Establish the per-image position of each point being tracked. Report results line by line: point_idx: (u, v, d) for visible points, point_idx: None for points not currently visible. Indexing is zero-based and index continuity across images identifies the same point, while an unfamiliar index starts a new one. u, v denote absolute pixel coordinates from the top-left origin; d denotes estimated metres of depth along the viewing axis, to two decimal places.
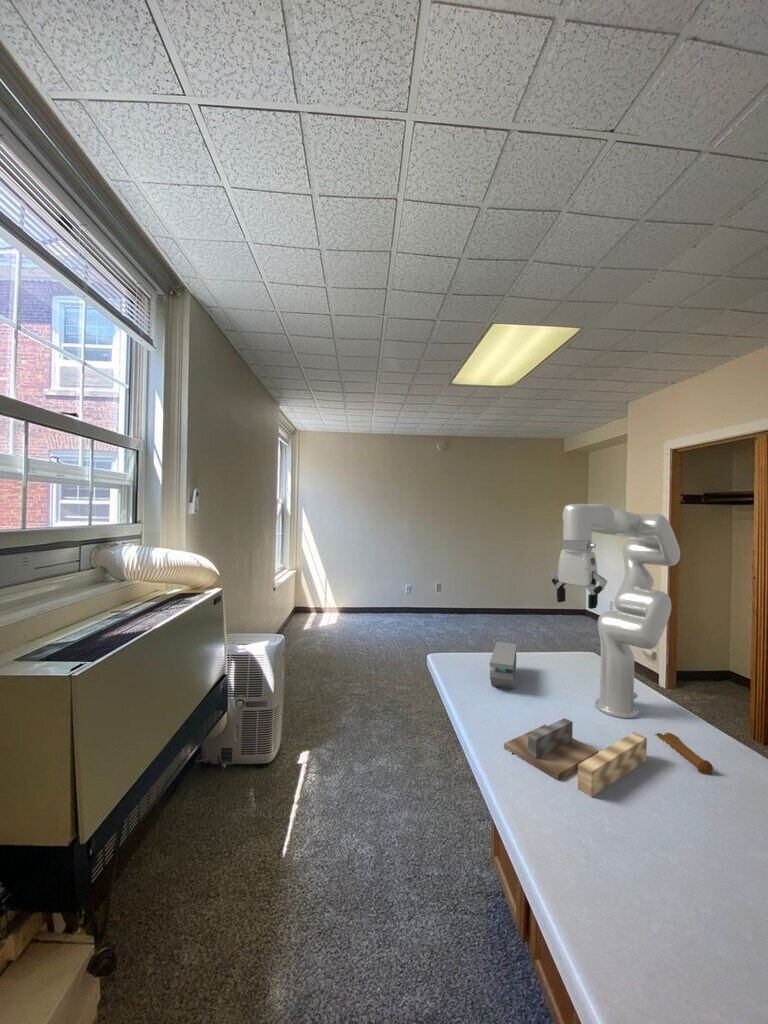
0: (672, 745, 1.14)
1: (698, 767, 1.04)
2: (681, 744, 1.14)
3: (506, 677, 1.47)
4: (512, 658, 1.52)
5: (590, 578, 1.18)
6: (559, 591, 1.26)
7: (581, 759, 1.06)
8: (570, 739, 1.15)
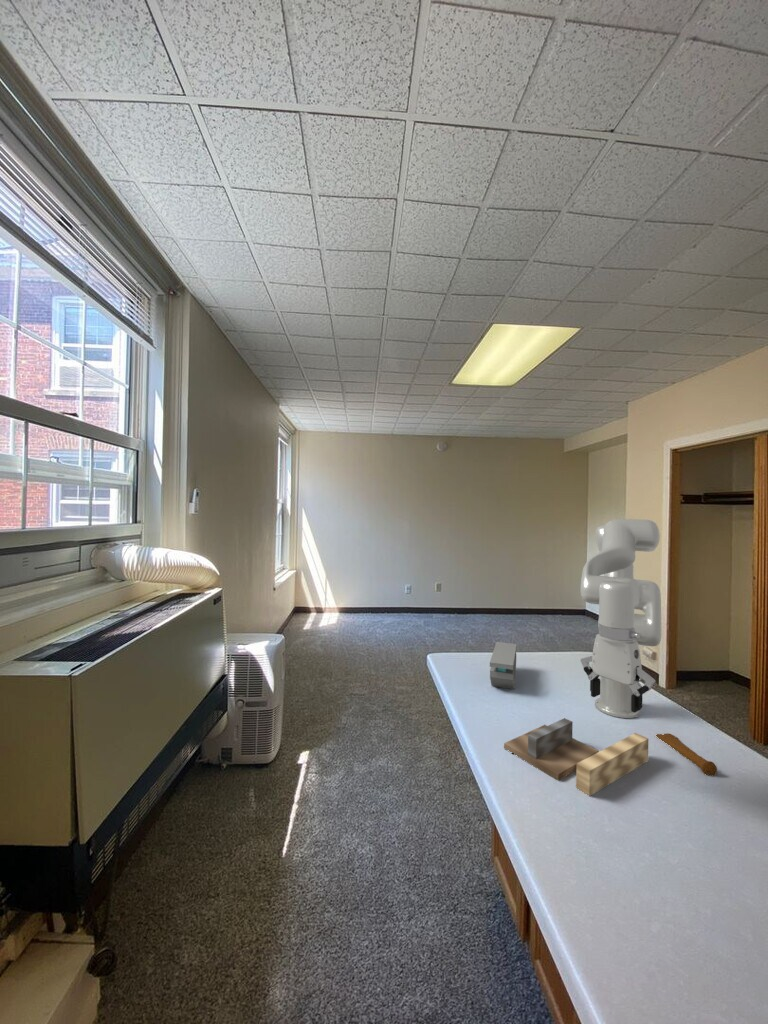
0: (673, 746, 1.14)
1: (703, 768, 1.03)
2: (682, 745, 1.14)
3: (506, 677, 1.47)
4: (512, 658, 1.52)
5: (634, 675, 0.98)
6: (593, 684, 1.06)
7: (581, 759, 1.06)
8: (570, 739, 1.15)
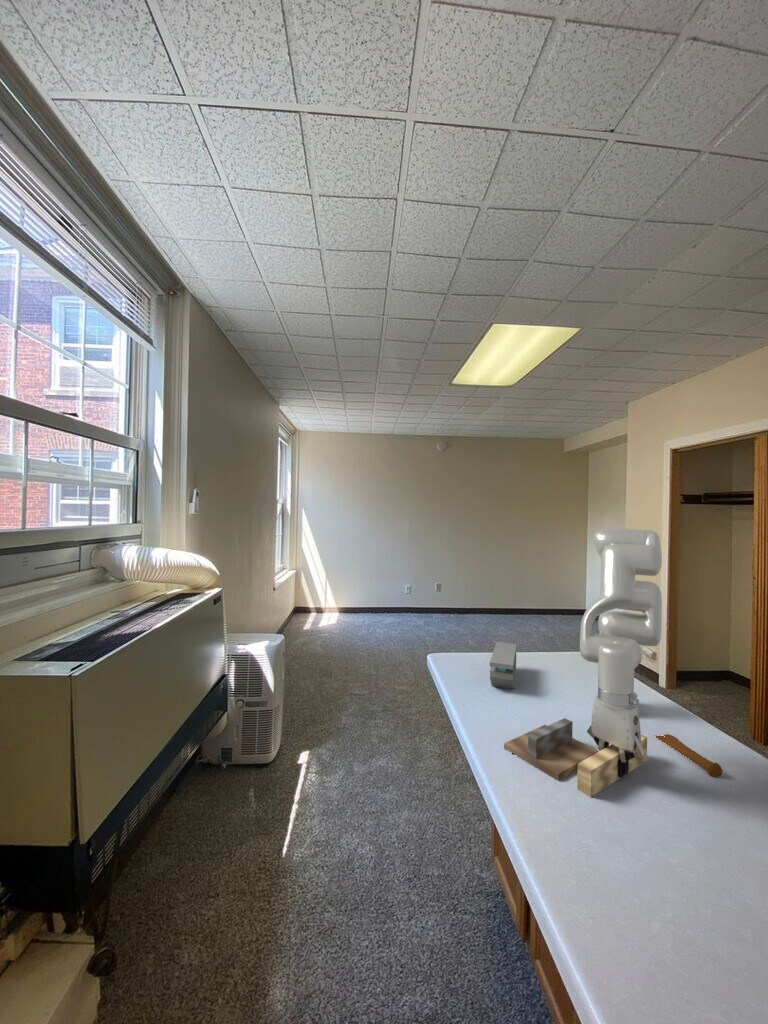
0: (676, 748, 1.13)
1: (709, 770, 1.02)
2: (684, 746, 1.13)
3: (506, 677, 1.47)
4: (512, 658, 1.52)
5: (633, 742, 0.98)
6: None
7: (581, 759, 1.06)
8: (570, 739, 1.15)
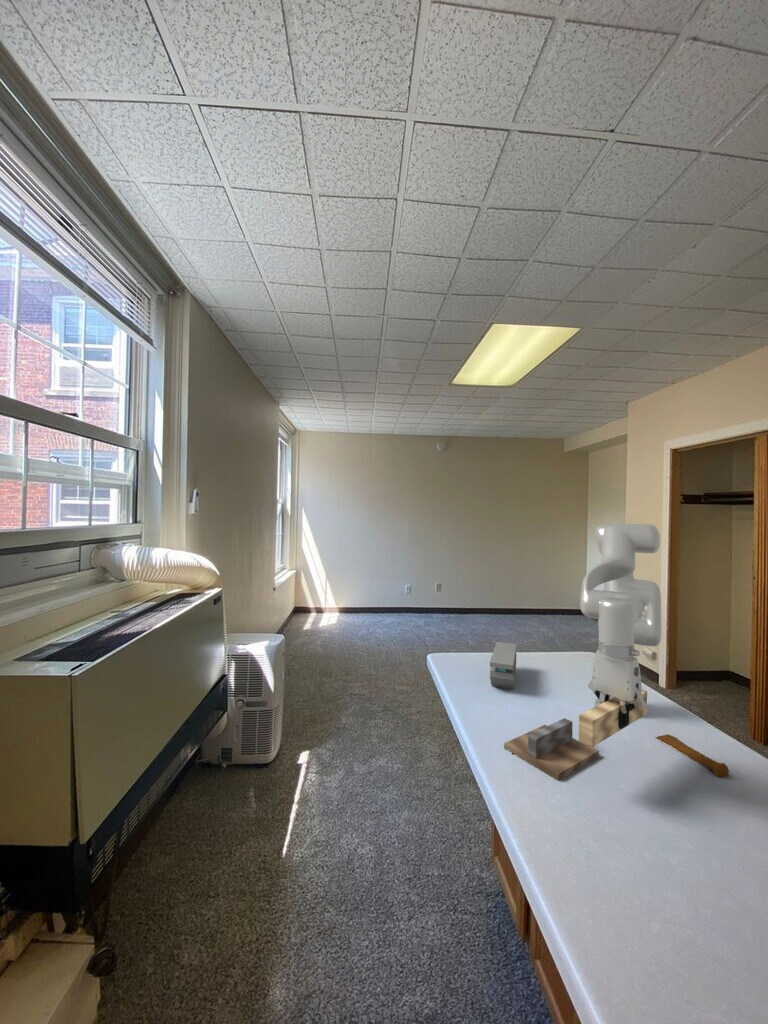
0: (679, 749, 1.13)
1: (716, 771, 1.02)
2: (686, 746, 1.13)
3: (506, 677, 1.47)
4: (512, 658, 1.52)
5: (633, 693, 0.98)
6: None
7: (581, 759, 1.06)
8: (570, 739, 1.15)
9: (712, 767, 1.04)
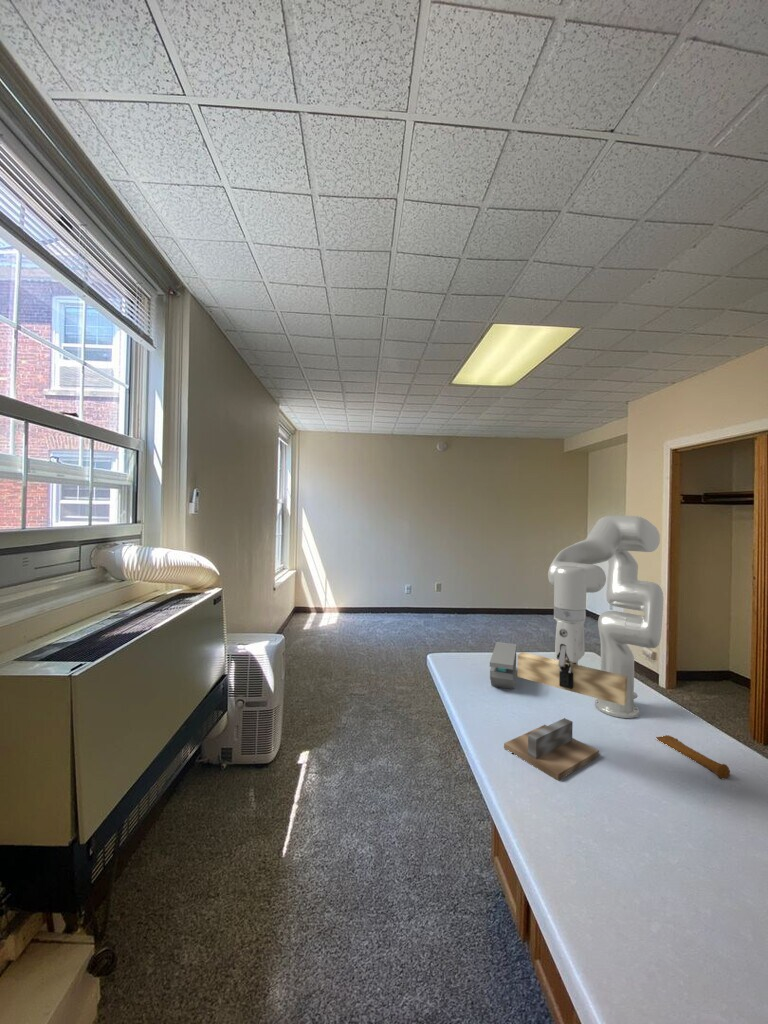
0: (679, 749, 1.12)
1: (718, 772, 1.02)
2: (687, 747, 1.13)
3: (506, 677, 1.47)
4: (512, 658, 1.52)
5: (557, 650, 1.06)
6: None
7: (581, 759, 1.06)
8: (570, 739, 1.15)
9: (713, 768, 1.03)
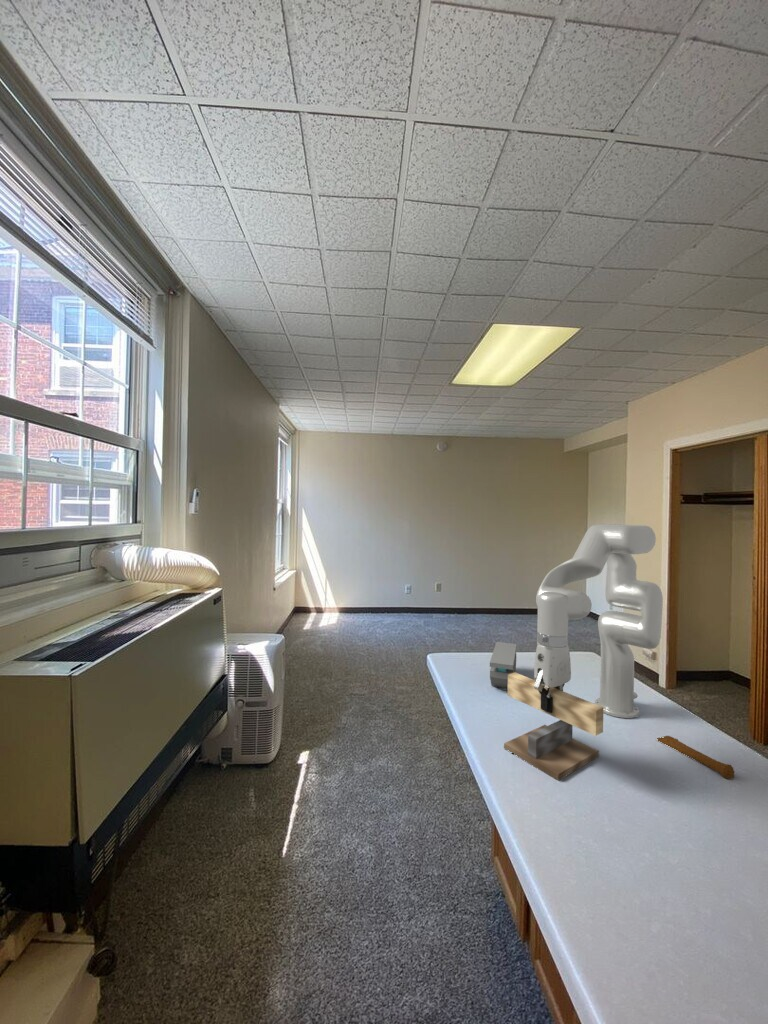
0: (682, 750, 1.12)
1: (723, 773, 1.02)
2: (689, 748, 1.12)
3: (506, 677, 1.47)
4: (512, 658, 1.52)
5: (535, 674, 1.10)
6: None
7: (581, 759, 1.06)
8: (570, 739, 1.15)
9: (718, 769, 1.03)
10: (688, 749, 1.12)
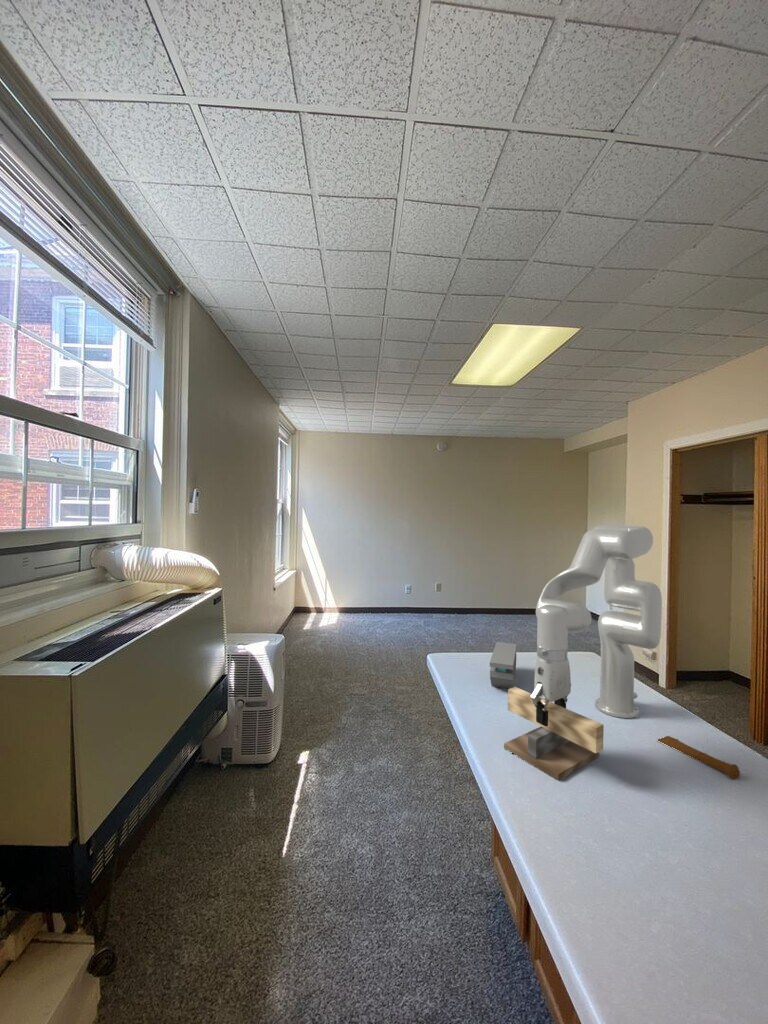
0: (685, 751, 1.12)
1: (730, 773, 1.01)
2: (691, 748, 1.12)
3: (506, 677, 1.47)
4: (512, 658, 1.52)
5: (535, 687, 1.10)
6: (554, 702, 1.15)
7: (581, 759, 1.06)
8: None
9: (724, 769, 1.03)
10: (691, 750, 1.11)
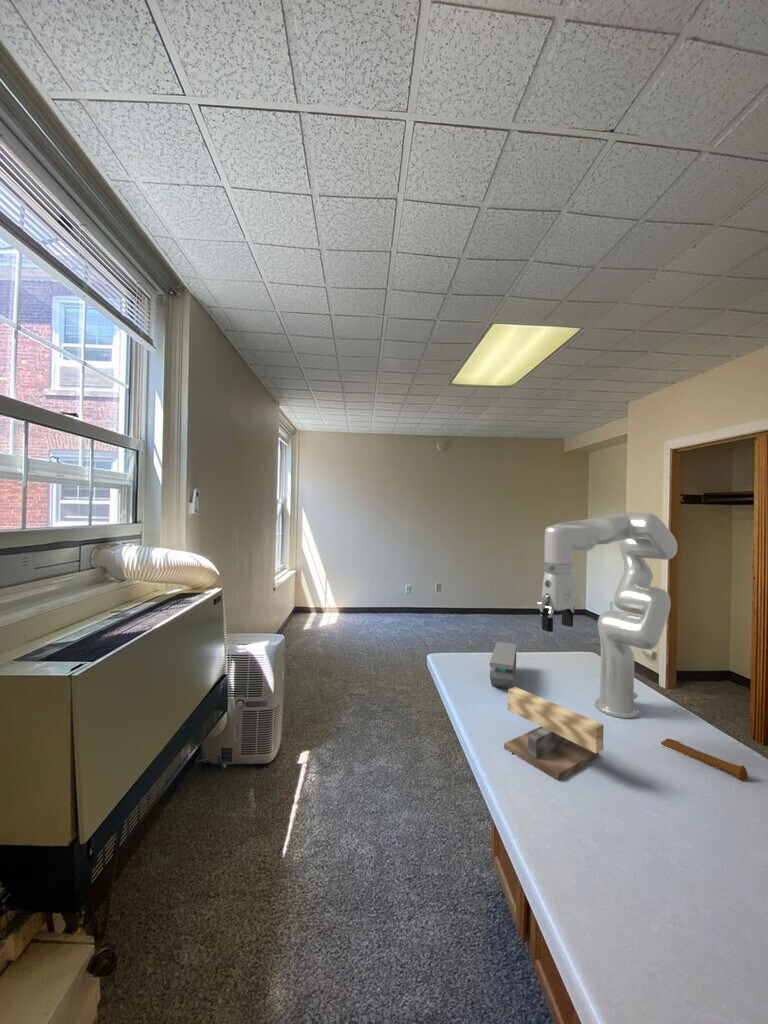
0: (690, 754, 1.10)
1: (739, 775, 1.01)
2: (695, 750, 1.11)
3: (506, 677, 1.47)
4: (512, 658, 1.52)
5: None
6: (562, 613, 1.25)
7: (581, 759, 1.06)
8: None
9: (733, 771, 1.02)
10: (695, 752, 1.10)
